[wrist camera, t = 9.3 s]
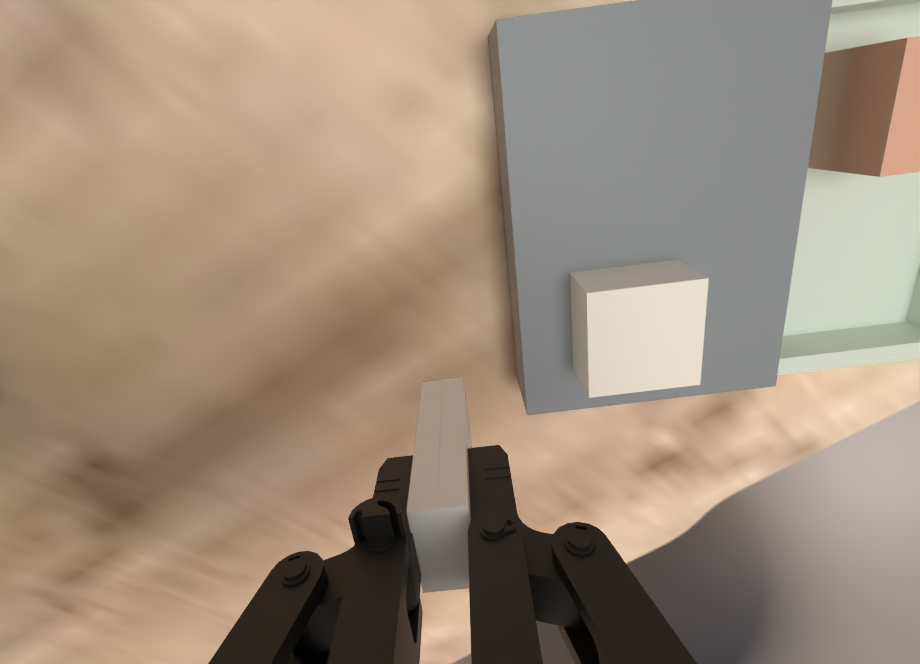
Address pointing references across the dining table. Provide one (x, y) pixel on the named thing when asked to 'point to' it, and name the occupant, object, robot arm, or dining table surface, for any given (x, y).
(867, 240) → the tray
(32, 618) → the dining table surface
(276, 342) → the dining table surface
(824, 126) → the tile terracotta
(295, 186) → the dining table surface
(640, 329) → the tile cream
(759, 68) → the grey rectangular slab
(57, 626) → the dining table surface
